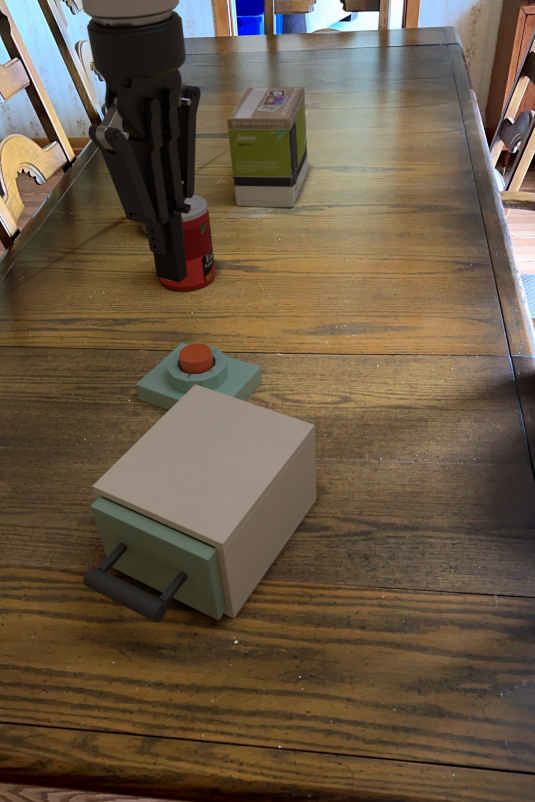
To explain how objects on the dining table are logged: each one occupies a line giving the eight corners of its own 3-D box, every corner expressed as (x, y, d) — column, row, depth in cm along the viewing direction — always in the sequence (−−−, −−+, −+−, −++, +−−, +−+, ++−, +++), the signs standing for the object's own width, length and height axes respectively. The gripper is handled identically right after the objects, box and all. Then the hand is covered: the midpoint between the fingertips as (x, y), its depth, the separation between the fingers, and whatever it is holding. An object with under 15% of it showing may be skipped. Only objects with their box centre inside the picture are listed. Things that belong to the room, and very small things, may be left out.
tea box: (254, 171, 129) (248, 85, 120) (309, 172, 127) (307, 85, 118) (234, 207, 118) (225, 115, 108) (294, 209, 116) (290, 116, 107)
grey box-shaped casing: (234, 619, 58) (222, 544, 52) (114, 560, 64) (91, 485, 57) (316, 500, 68) (315, 424, 62) (206, 457, 73) (195, 383, 67)
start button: (174, 370, 79) (172, 357, 78) (193, 352, 81) (191, 340, 80) (201, 379, 77) (199, 366, 76) (219, 361, 80) (218, 348, 78)
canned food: (218, 288, 98) (210, 213, 91) (161, 296, 98) (147, 221, 91) (213, 261, 104) (204, 189, 97) (158, 268, 104) (145, 197, 96)
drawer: (186, 665, 54) (172, 606, 49) (74, 604, 59) (51, 544, 54) (299, 507, 66) (296, 446, 61) (197, 467, 71) (187, 407, 66)
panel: (138, 399, 81) (132, 371, 78) (184, 356, 87) (180, 329, 84) (219, 429, 76) (215, 400, 74) (262, 381, 82) (260, 353, 79)
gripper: (117, 38, 51) (163, 318, 66) (218, -1, 59) (238, 255, 74) (40, 30, 54) (101, 298, 69) (146, -7, 62) (179, 240, 77)
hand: (172, 276), depth 72 cm, fingers closed
